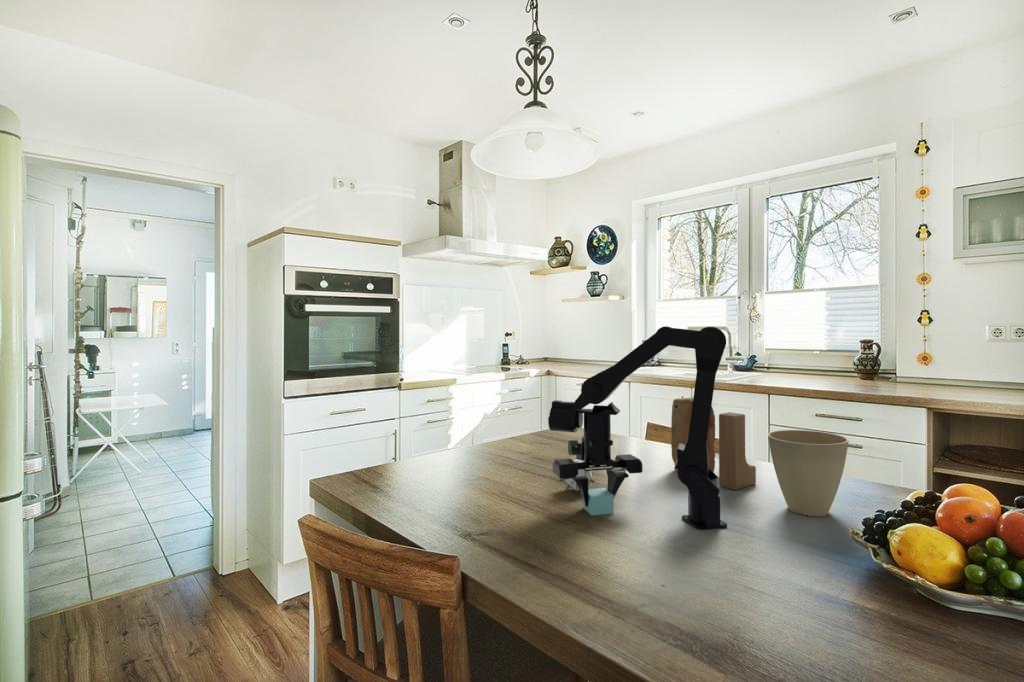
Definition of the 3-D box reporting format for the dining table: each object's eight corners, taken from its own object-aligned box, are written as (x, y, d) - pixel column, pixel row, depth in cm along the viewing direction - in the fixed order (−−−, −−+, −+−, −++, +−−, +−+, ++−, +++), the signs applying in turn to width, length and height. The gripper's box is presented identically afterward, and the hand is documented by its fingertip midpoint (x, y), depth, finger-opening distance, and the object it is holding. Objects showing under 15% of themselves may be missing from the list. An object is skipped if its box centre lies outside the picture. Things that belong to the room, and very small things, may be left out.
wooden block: (739, 479, 132) (739, 410, 131) (756, 484, 128) (756, 412, 127) (718, 486, 127) (718, 413, 126) (735, 490, 123) (734, 416, 122)
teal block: (613, 513, 109) (613, 494, 109) (591, 515, 108) (591, 496, 108) (604, 505, 114) (604, 487, 114) (583, 507, 113) (583, 489, 113)
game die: (574, 503, 126) (575, 464, 132) (602, 497, 121) (602, 457, 127) (550, 492, 121) (552, 452, 127) (579, 486, 116) (579, 445, 122)
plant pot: (804, 495, 119) (804, 427, 118) (866, 518, 104) (866, 440, 104) (752, 503, 114) (752, 432, 114) (809, 527, 100) (809, 446, 99)
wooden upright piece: (668, 470, 141) (668, 398, 141) (684, 465, 146) (684, 395, 145) (704, 479, 132) (703, 402, 132) (720, 473, 137) (719, 399, 137)
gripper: (621, 424, 121) (622, 490, 121) (545, 429, 117) (546, 496, 117) (643, 434, 110) (643, 506, 110) (560, 439, 106) (560, 514, 106)
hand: (597, 505), depth 111 cm, fingers closed on teal block, 5 cm apart
